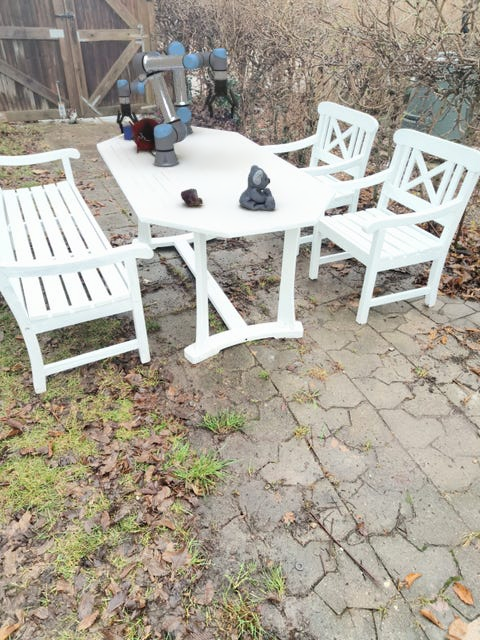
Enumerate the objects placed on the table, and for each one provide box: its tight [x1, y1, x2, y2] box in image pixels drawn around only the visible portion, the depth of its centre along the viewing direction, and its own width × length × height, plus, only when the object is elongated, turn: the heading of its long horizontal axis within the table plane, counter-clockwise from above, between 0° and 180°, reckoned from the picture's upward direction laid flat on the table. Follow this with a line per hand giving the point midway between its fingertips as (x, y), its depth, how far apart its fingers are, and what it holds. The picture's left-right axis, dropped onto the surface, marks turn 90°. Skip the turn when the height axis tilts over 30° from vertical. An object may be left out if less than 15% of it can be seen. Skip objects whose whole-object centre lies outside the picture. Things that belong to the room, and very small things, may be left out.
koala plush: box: [238, 164, 276, 211], centre depth 224 cm, size 17×18×20 cm
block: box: [123, 124, 133, 141], centre depth 350 cm, size 7×5×10 cm
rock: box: [180, 188, 204, 207], centre depth 229 cm, size 12×9×10 cm
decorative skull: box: [128, 117, 161, 154], centre depth 321 cm, size 21×24×25 cm
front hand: (221, 118), depth 276 cm, fingers open, 13 cm apart
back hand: (129, 133), depth 351 cm, fingers open, 11 cm apart
